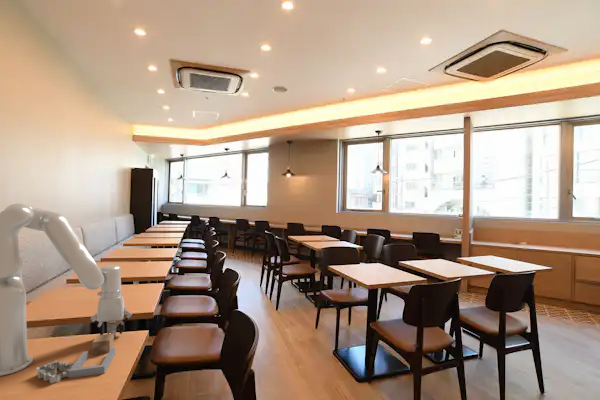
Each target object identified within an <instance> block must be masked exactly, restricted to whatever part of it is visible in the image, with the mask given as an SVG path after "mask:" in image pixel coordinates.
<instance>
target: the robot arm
mask: <svg viewBox="0 0 600 400" xmlns="http://www.w3.org/2000/svg"><path fill="white" fill-rule="evenodd" d="M23 228H26V229H31V230H35V231H41V232H44V233H45V235H46V236H47V238H48V239H49V241H50V242H51V244H52V245H53V246H54V248H55V250H56V251H57V253H58V254H59V255H60V257H61V258H62V259H63V260H64V262H66V264H67V265H68V266H69V267H70V268H71V269H72V271H74V273H75V275H76V276H77V279H78V281H79V283H80V284H81V285H82V286H83V287H84V288H85V289H87V290H90V291H91V290H92V291H95V290H98V289H100V291H97V294H96V295H97V296H100V297H99V299H98V301H97V309H96V310H97V311H96V313H95V314H93V315H92V316H91V317H90V319H89V320H91V322H93V323H94V324H95V325H96V326H97V328H98V334H99V335H105V324H104V322H107V323H108V322H113V321H114V322H116V321H118V322H119V334H120V335H122V334H123V332H124V331H125V323H126V322H127V321H128V320H129V319H130V318H131V317H132V315H133V313H132V312H130V311H129V310H127V309H126V307H125V300H124V296H123V294H122V278H121V277H122V268H121V266H120V265H118V264H110V265H105V266H98V264H97V263H96V261H95V260H94V258H93V257H92V255H91V254H90V252H89V251H88V249H87V247H86V246H85V244H84V243H83V241H82V240H81V238H80V236H79V235H78V234H77V232H76V230H75V228H74V227H73V225H72V224H71V222H70V221H69V220H68V218H67V217H66V216H65V215H63V214H60V213H58V212H53V211H49V210H46V209H42V208H38V207H34V206H30V205H27V204H24V203H12V204H10V205H8V206H6V207H5V209H4V210H2V211H1V212H0V377H1V376H7V375H9V374H10V375H11V374H13V373H17V372H19V371H21V370H23V369H26V368H27V367H29V366H30V365H31V364H32V363H33V360H34V357H33V356H32V355H30V354H28V336H27V335H28V333H27V332H28V331H27V329H28V328H27V327H28V326H27V291H26V288H25V285H24V281H23V280H24V279H23V271H22V263H23V261H22V259H21V254H20V248H19V247H20V246H19V232H20V231H21V230H22V229H23ZM125 315H126V317H124V316H125Z"/></svg>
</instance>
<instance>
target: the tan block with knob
mask: <svg viewBox="0 0 600 400" xmlns="http://www.w3.org/2000/svg"><path fill="white" fill-rule="evenodd" d="M109 333H111V334H109ZM116 336H117V323H116V321H108V322H107V334H103V335H100V334H98V335H97V336H95V338H94V339H93V341H92V355H101V354H108V353H109V351H110V349H111V348H114V346H115V337H116Z"/></svg>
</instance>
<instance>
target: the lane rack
mask: <svg viewBox="0 0 600 400" xmlns="http://www.w3.org/2000/svg"><path fill="white" fill-rule="evenodd" d="M115 355H116V347H113V348H111V349H110V351H109V353H106V356H105V358H104V359H103V361H102V362H101V364H97V365H89V366H83V365H84V364H85V362H86V361H87V360H88V358H89V351H88V350H87V351H83V352H82V353H81V354H80V356H79V357H78V358H77V360H76V361H75V362H74V363H73V366H72V367H71V369H70V370H69V377H68V379H73V378H80V377H88V376H95V375H103V374H105V373H106V371H107V370H108V368H109V366H110V365H111V363H112V361H113V359H114V357H115ZM82 366H83V367H82Z"/></svg>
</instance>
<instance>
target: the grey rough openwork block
mask: <svg viewBox="0 0 600 400" xmlns="http://www.w3.org/2000/svg"><path fill="white" fill-rule="evenodd" d="M73 365H74V363H73V362H64V361H59V360H55V361H53V362H52V361H50V362H49V363H46V364H42V366H37V367H36V370H37V378H38V379H43V381H44V382H46V381H49V384H53V383H59V382H61V380H62V379H63V378H69V370H70V369H71V367H72V366H73ZM57 369H58V371H59V372H61V373H59V374H57V373H58V372H57Z"/></svg>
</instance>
